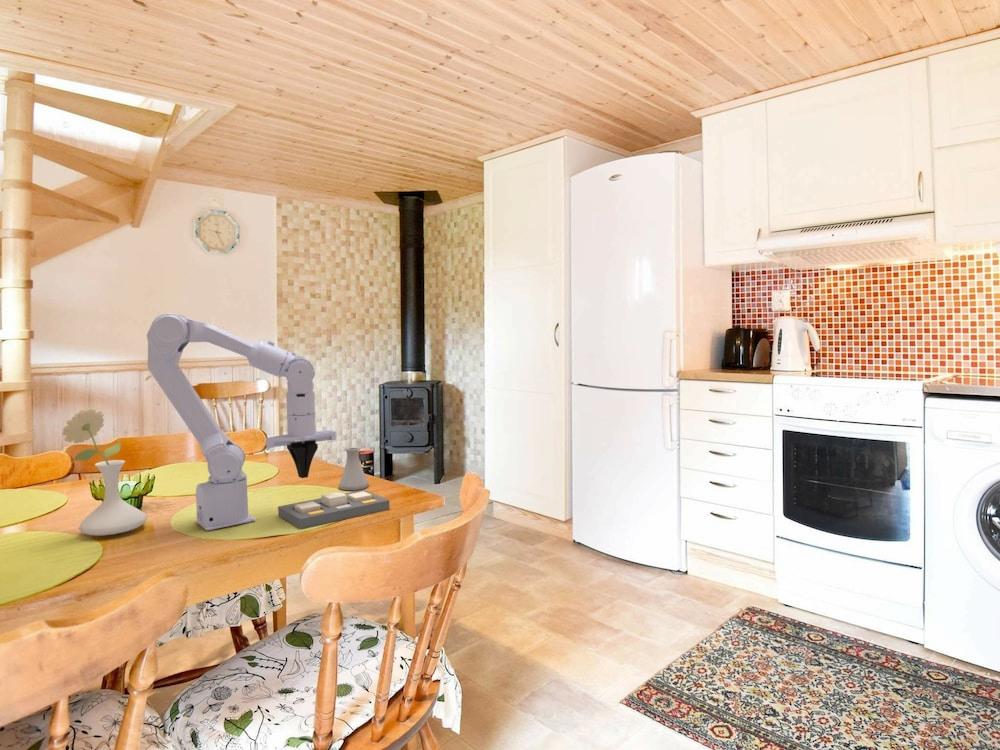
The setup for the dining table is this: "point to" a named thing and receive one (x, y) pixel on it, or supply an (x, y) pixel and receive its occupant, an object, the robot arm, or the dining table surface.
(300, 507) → the button near
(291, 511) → the button board
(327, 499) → the button middle
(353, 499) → the button far
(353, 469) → the flask
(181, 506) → the dining table surface
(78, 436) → the flower in vase
